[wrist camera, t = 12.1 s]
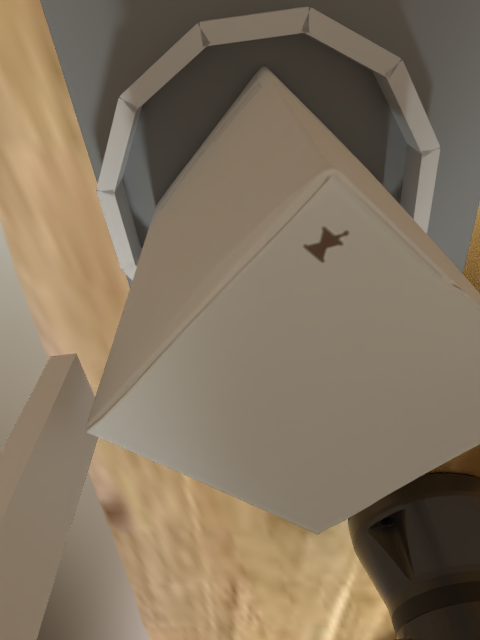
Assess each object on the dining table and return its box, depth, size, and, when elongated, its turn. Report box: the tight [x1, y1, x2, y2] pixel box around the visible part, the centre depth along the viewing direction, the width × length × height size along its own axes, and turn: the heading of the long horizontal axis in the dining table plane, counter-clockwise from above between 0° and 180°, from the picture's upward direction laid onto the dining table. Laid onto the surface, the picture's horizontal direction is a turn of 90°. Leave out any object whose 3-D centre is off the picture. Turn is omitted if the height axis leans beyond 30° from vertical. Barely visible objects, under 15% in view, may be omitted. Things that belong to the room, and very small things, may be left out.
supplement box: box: [85, 66, 480, 534], centre depth 17 cm, size 9×9×15 cm
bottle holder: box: [40, 0, 480, 287], centre depth 22 cm, size 20×19×3 cm
